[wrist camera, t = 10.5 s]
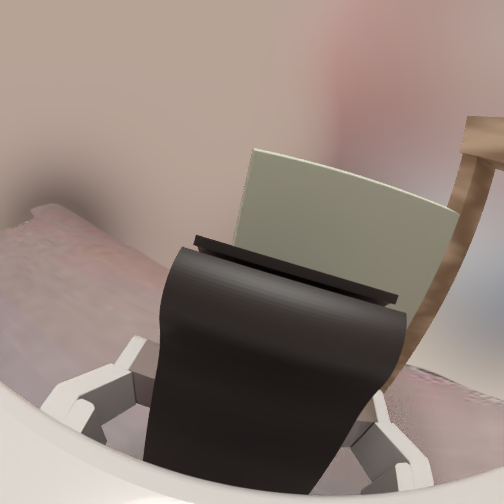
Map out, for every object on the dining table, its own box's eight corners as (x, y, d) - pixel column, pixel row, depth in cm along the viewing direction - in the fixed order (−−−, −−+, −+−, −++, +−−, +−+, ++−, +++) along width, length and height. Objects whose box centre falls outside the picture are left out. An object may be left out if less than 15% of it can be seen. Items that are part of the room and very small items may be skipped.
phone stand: (261, 548, 8) (451, 446, 3) (138, 510, 8) (73, 342, 4) (289, 418, 16) (376, 245, 11) (197, 390, 17) (234, 203, 12)
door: (202, 389, 23) (251, 146, 15) (339, 397, 25) (437, 202, 17) (200, 413, 21) (255, 150, 13) (345, 418, 23) (460, 214, 15)
